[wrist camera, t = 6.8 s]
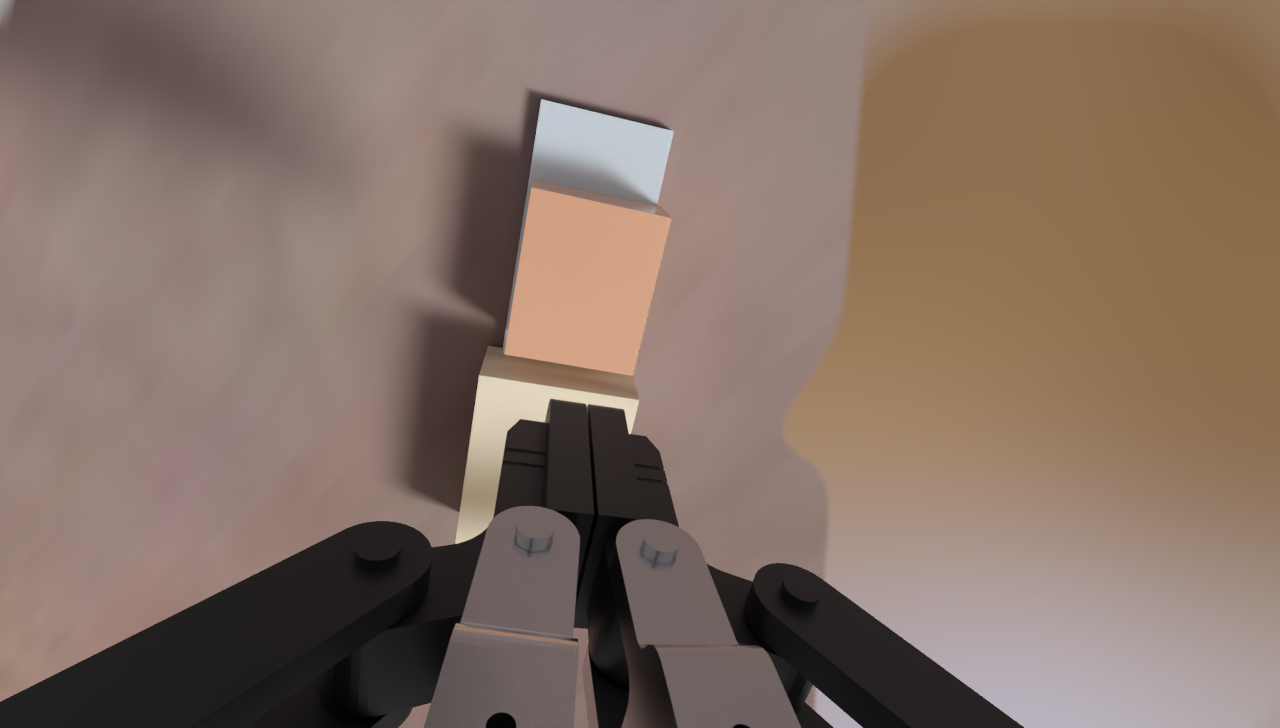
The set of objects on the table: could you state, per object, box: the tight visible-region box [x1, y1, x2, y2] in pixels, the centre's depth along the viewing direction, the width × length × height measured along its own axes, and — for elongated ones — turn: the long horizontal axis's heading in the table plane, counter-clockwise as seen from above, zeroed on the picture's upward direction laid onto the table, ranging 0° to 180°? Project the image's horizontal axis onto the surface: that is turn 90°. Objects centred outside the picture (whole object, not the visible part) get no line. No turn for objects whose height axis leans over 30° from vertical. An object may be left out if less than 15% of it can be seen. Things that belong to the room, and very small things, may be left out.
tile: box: [504, 179, 672, 376], centre depth 19 cm, size 5×4×2 cm
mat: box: [502, 99, 674, 352], centre depth 20 cm, size 8×4×1 cm, turn 167°
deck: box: [455, 345, 639, 544], centre depth 22 cm, size 7×5×2 cm
